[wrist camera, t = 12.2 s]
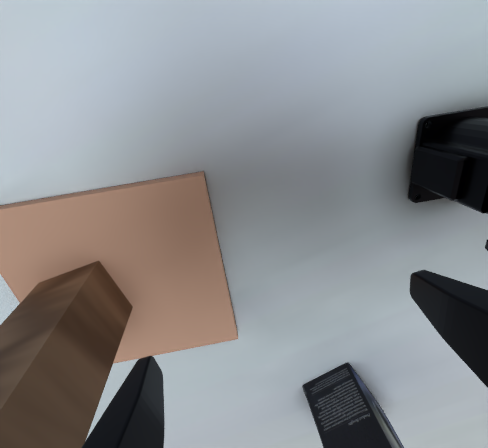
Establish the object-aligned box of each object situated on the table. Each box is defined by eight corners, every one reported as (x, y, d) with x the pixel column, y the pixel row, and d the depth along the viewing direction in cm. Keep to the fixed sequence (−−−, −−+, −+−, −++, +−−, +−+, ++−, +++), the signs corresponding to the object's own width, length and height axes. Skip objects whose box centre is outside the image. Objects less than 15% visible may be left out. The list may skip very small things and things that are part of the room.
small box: (381, 401, 35) (444, 515, 26) (336, 423, 36) (381, 540, 27) (350, 359, 31) (413, 477, 21) (300, 385, 32) (338, 509, 22)
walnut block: (98, 260, 20) (-49, 484, 9) (132, 306, 23) (51, 534, 11) (38, 282, 21) (-183, 529, 9) (78, 326, 23) (-58, 569, 11)
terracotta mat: (203, 171, 19) (203, 175, 18) (237, 330, 26) (238, 338, 26) (-27, 210, 19) (-39, 216, 18) (71, 362, 26) (66, 372, 25)
